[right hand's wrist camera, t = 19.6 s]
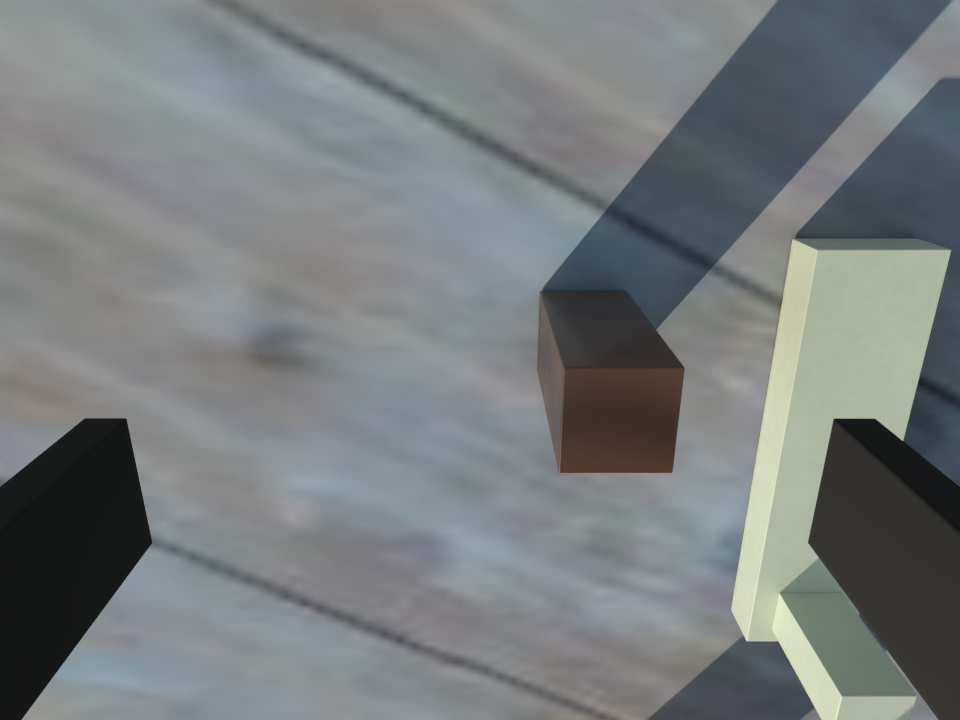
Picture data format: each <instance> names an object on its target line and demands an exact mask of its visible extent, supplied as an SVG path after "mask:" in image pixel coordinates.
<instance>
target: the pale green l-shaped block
mask: <svg viewBox="0 0 960 720" xmlns="http://www.w3.org/2000/svg"><path fill="white" fill-rule="evenodd" d="M950 254H951V249H948V248H945V247H942V246H939V245H936V244H933V243H930V242H927V241H923V240H920V239H917V238H849V239H793V240H792V246H791V252H790V258H789V264H788V270H787V276H786V282H785V288H784V294H783V300H782V306H781V312H780V318H779V324H778V330H777V336H776V342H775V348H774V354H773V361H772V367H771V373H770V379H769V385H768V391H767V397H766V403H765V409H764V415H763V421H762V427H761V433H760V439H759V445H758V451H757V457H756V463H755V469H754V475H753V481H752V487H751V493H750V499H749V505H748V511H747V517H746V523H745V529H744V535H743V541H742V547H741V553H740V559H739V565H738V571H737V577H736V583H735V589H734V595H733V601H732V607H731V610H732V612H733V614H734V616H735V618H736V620H737V622H738V625H739V627H740V629H741V631H742V633H743V635H744V637H745V639H746V641H779V643H780V645H781V647H782V648H783V650H784V652H785V654H786V656H787V658H788V659H789V661H790V663H791V665H792V667H793V668H794V670H795V672H796V674H797V676H798V678H799V679H800V681H801V683H802V685H803V687H804V688H805V690H806V692H807V694H808V696H809V698H810V699H811V701H812V703H813V705H814V707H815V708H816V710H817V712H818V714H819V716H820V717H821V719H822V720H910V718H911V715H912V712H913V708H914V705H915V702H916V699H917V695H916V694H915V692H914V691H913V689H912V688H911V687H910V685H909V684H908V683H907V681H906V680H905V678H904V677H903V676H902V674H901V673H900V672H899V670H898V669H897V668H896V666H895V665H894V663H893V662H892V661H891V659H890V658H889V657H888V655H887V654H886V653H885V651H884V650H883V648H882V647H881V646H880V644H879V643H878V642H877V640H876V639H875V638H874V636H873V635H872V633H871V632H870V631H869V629H868V628H867V627H866V625H865V624H864V623H863V621H862V620H861V618H860V617H859V615H860V613H859V611H858V610H857V609H856V607H855V606H854V605H853V603H852V602H851V600H850V599H849V598H848V596H847V595H846V594H845V592H844V591H843V590H842V588H841V587H840V586H839V584H838V583H837V582H836V580H835V579H834V577H833V576H832V575H831V573H830V572H829V571H828V569H827V568H826V567H825V565H824V564H823V563H822V561H821V560H820V559H819V557H818V556H817V555H816V553H815V552H814V550H813V549H812V548H811V546H810V545H809V544H808V540H809V535H810V530H811V525H812V520H813V516H814V511H815V506H816V501H817V496H818V492H819V487H820V482H821V477H822V472H823V468H824V463H825V458H826V453H827V448H828V444H829V439H830V434H831V429H832V424H833V420H834V419H876V420H877V421H879V422H880V423H881V424H882V425H884V426H885V427H886V428H887V429H889V430H890V431H891V432H892V433H894V434H895V435H896V436H897V437H898V438H900V439H901V440H902V441H903V440H904V436H905V432H906V428H907V424H908V420H909V416H910V413H911V409H912V405H913V401H914V397H915V393H916V389H917V385H918V381H919V377H920V373H921V369H922V365H923V361H924V357H925V353H926V349H927V345H928V341H929V337H930V333H931V329H932V325H933V321H934V317H935V314H936V310H937V306H938V302H939V298H940V294H941V290H942V286H943V282H944V278H945V274H946V270H947V266H948V262H949V258H950Z"/></svg>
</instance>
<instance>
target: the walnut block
mask: <svg viewBox="0 0 960 720" xmlns="http://www.w3.org/2000/svg"><path fill="white" fill-rule="evenodd" d="M684 369H685V368H684V366H683V365H682V364H681V362H680V361H679V360H678V359H677V357H676V356H675V355H674V353H673V352H672V351H671V349H670V348H669V347H668V345H667V344H666V343H665V341H664V340H663V339H662V337H661V336H660V335H659V334H658V332H657V331H656V330H655V328H654V327H653V326H652V324H651V323H650V322H649V320H648V319H647V318H646V316H645V315H644V314H643V313H642V311H641V310H640V309H639V307H638V306H637V305H636V303H635V302H634V301H633V299H632V298H631V297H630V295H629V294H628V293H627V292H626V291H540V305H539V336H538V366H537V371H538V376H539V380H540V385H541V390H542V395H543V400H544V404H545V409H546V414H547V419H548V423H549V428H550V433H551V438H552V443H553V447H554V452H555V457H556V462H557V466H558V471H559V473H672V471H673V463H674V454H675V446H676V437H677V429H678V420H679V412H680V403H681V394H682V386H683V377H684Z"/></svg>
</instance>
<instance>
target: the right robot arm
mask: <svg viewBox="0 0 960 720" xmlns="http://www.w3.org/2000/svg"><path fill="white" fill-rule="evenodd" d="M151 544H152V540H151V535H150V530H149V525H148V520H147V516H146V511H145V506H144V501H143V496H142V492H141V487H140V482H139V477H138V472H137V468H136V463H135V458H134V453H133V448H132V444H131V439H130V434H129V429H128V424H127V420H126V419H84V420H83V421H81V422H80V423H79V424H78V425H76V426H75V427H74V428H73V429H71V430H70V431H69V432H68V433H66V434H65V435H64V436H63V437H62V438H60V439H59V440H58V441H57V442H55V443H54V444H53V445H52V446H50V447H49V448H48V449H47V450H45V451H44V452H43V453H42V454H40V455H39V456H38V457H37V458H36V459H34V460H33V461H32V462H31V463H29V464H28V465H27V466H26V467H24V468H23V469H22V470H21V471H19V472H18V473H17V474H16V475H14V476H13V477H12V478H11V479H10V480H8V481H7V482H6V483H5V484H3V485H2V486H1V487H0V720H21V719H22V718H23V717H24V715H25V714H26V713H27V711H28V710H29V709H30V707H31V706H32V705H33V703H34V702H35V701H36V699H37V698H38V696H39V695H40V694H41V692H42V691H43V690H44V688H45V687H46V686H47V684H48V683H49V682H50V680H51V679H52V678H53V676H54V675H55V673H56V672H57V671H58V669H59V668H60V667H61V665H62V664H63V663H64V661H65V660H66V659H67V657H68V656H69V655H70V653H71V652H72V651H73V649H74V648H75V646H76V645H77V644H78V642H79V641H80V640H81V638H82V637H83V636H84V634H85V633H86V632H87V630H88V629H89V628H90V626H91V625H92V623H93V622H94V621H95V619H96V618H97V617H98V615H99V614H100V613H101V611H102V610H103V609H104V607H105V606H106V605H107V603H108V602H109V600H110V599H111V598H112V596H113V595H114V594H115V592H116V591H117V590H118V588H119V587H120V586H121V584H122V583H123V582H124V580H125V579H126V577H127V576H128V575H129V573H130V572H131V571H132V569H133V568H134V567H135V565H136V564H137V563H138V561H139V560H140V559H141V557H142V556H143V554H144V553H145V552H146V550H147V549H148V548H149V546H150V545H151ZM808 544H809V545H810V546H811V548H812V549H813V550H814V552H815V553H816V555H817V556H818V557H819V559H820V560H821V561H822V563H823V564H824V565H825V567H826V568H827V569H828V571H829V572H830V573H831V575H832V576H833V577H834V579H835V580H836V582H837V583H838V584H839V586H840V587H841V588H842V590H843V591H844V592H845V594H846V595H847V596H848V598H849V599H850V600H851V602H852V603H853V605H854V606H855V607H856V609H857V610H858V611H859V613H860V614H861V615H862V617H863V618H864V619H865V621H866V622H867V623H868V625H869V626H870V628H871V629H872V630H873V632H874V633H875V634H876V636H877V637H878V638H879V640H880V641H881V642H882V644H883V645H884V646H885V648H886V649H887V651H888V652H889V653H890V655H891V656H892V657H893V659H894V660H895V661H896V663H897V664H898V665H899V667H900V668H901V669H902V671H903V672H904V674H905V675H906V676H907V678H908V679H909V680H910V682H911V683H912V684H913V686H914V687H915V688H916V690H917V691H918V692H919V694H920V695H921V696H922V698H923V699H924V701H925V702H926V703H927V705H928V706H929V707H930V709H931V710H932V711H933V713H934V714H935V715H936V717H937V718H938V719H939V720H960V487H959V486H958V485H957V484H955V483H954V482H953V481H952V480H950V479H949V478H948V477H947V476H946V475H944V474H943V473H942V472H941V471H939V470H938V469H937V468H936V467H934V466H933V465H932V464H931V463H929V462H928V461H927V460H926V459H924V458H923V457H922V456H921V455H920V454H918V453H917V452H916V451H915V450H913V449H912V448H911V447H910V446H908V445H907V444H906V443H905V442H903V441H902V440H901V439H900V438H898V437H897V436H896V435H895V434H894V433H892V432H891V431H890V430H889V429H887V428H886V427H885V426H884V425H882V424H881V423H880V422H879V421H877V420H876V419H834V420H833V424H832V429H831V434H830V439H829V444H828V448H827V453H826V458H825V463H824V468H823V472H822V477H821V482H820V487H819V492H818V496H817V501H816V506H815V511H814V516H813V520H812V525H811V530H810V535H809V540H808Z"/></svg>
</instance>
